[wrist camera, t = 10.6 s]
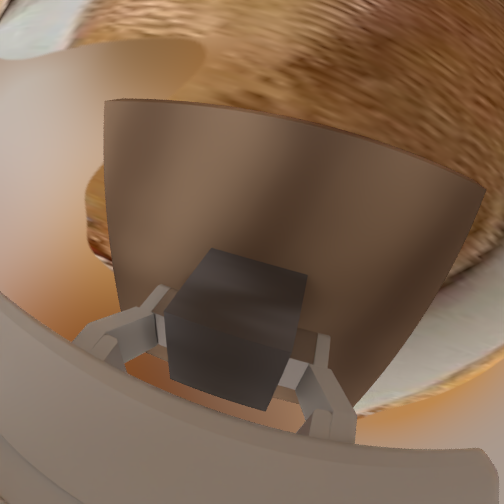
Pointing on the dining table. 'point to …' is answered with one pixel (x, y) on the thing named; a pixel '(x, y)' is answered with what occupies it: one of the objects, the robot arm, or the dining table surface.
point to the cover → (275, 240)
